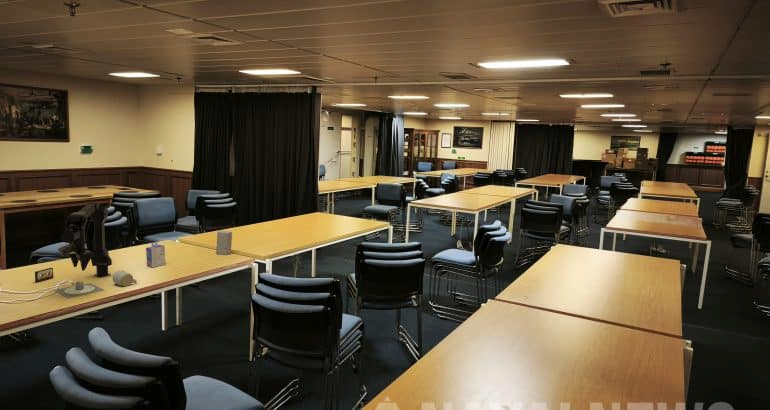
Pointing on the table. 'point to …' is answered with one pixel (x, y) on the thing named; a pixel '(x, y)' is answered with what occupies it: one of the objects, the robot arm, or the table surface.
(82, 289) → the round lid
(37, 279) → the audio cassette
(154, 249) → the ink cartridge box
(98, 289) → the rubber mat
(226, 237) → the skincare box
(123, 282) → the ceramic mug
